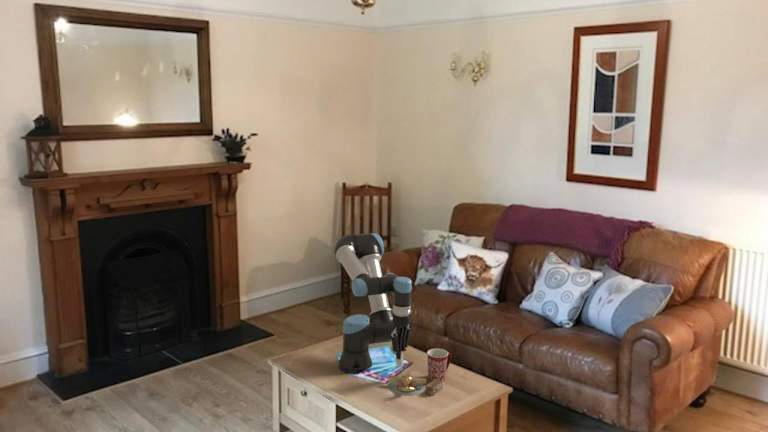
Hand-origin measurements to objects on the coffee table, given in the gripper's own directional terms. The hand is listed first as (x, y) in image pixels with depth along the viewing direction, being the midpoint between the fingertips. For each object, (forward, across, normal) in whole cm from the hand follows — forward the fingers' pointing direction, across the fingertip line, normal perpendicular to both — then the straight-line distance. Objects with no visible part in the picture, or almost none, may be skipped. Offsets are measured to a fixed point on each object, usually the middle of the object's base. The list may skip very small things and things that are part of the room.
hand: (399, 364), depth 274 cm
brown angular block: (+8, 0, -18) cm, 19 cm away
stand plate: (+8, -4, -7) cm, 11 cm away
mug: (+8, +13, -13) cm, 20 cm away
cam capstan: (+6, -4, -7) cm, 10 cm away
